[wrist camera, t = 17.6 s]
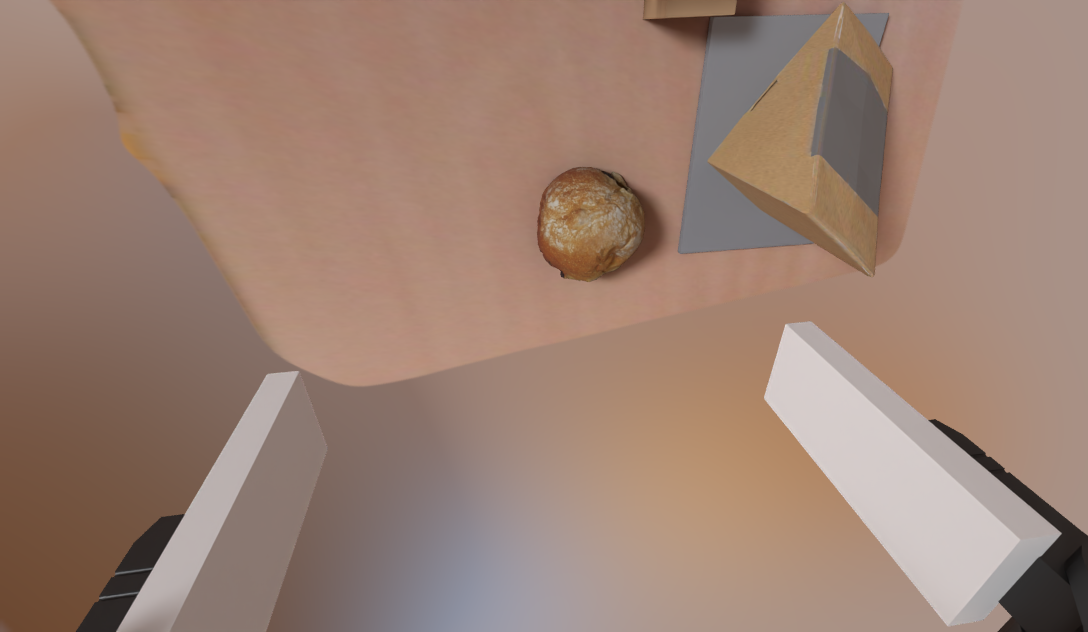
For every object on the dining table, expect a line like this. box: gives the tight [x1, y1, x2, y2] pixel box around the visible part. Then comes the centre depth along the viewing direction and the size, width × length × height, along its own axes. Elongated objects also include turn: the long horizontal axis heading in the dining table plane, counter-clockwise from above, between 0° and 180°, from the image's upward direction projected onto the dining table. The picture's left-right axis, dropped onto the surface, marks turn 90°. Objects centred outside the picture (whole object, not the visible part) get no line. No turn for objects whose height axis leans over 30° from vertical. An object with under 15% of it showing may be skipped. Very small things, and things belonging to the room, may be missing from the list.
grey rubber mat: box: [678, 13, 889, 254], centre depth 43 cm, size 20×15×1 cm
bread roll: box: [537, 167, 645, 282], centre depth 43 cm, size 10×10×8 cm
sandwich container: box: [707, 2, 893, 277], centre depth 35 cm, size 9×15×15 cm, turn 143°
